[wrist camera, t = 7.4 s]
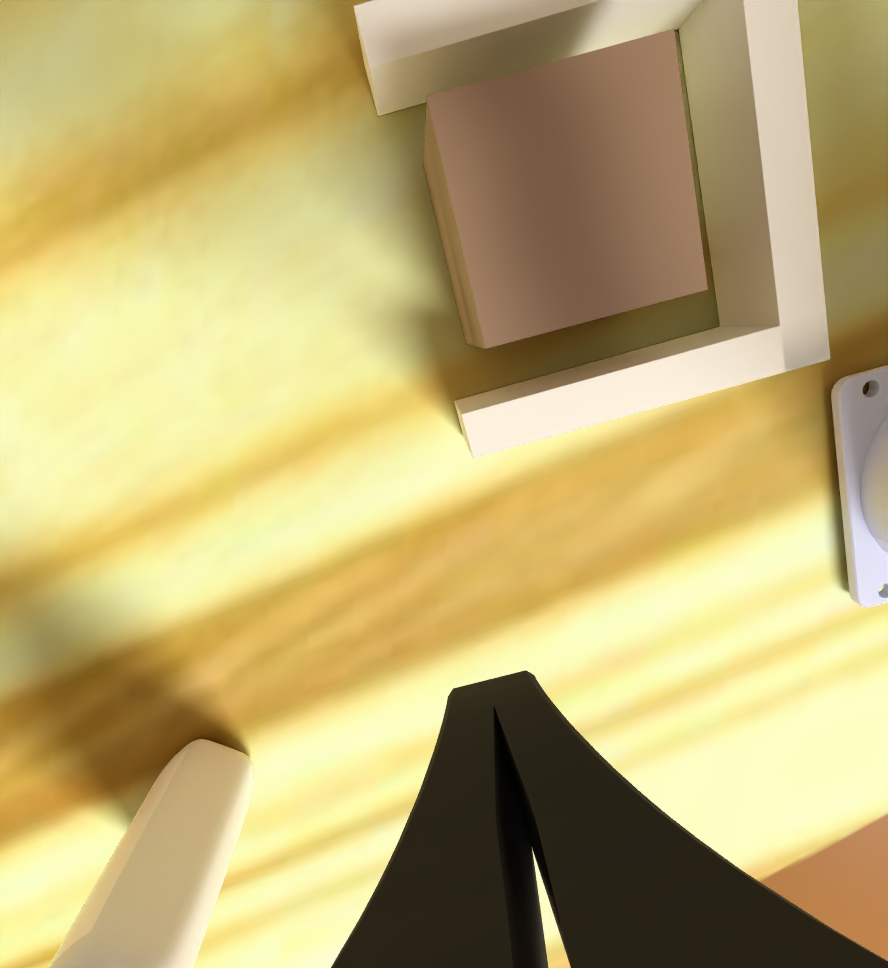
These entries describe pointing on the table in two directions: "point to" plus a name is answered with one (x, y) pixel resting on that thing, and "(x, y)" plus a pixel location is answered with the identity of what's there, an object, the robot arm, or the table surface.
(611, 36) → the dock
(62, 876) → the table surface
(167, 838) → the eye dropper bottle
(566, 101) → the walnut cube
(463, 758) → the robot arm
